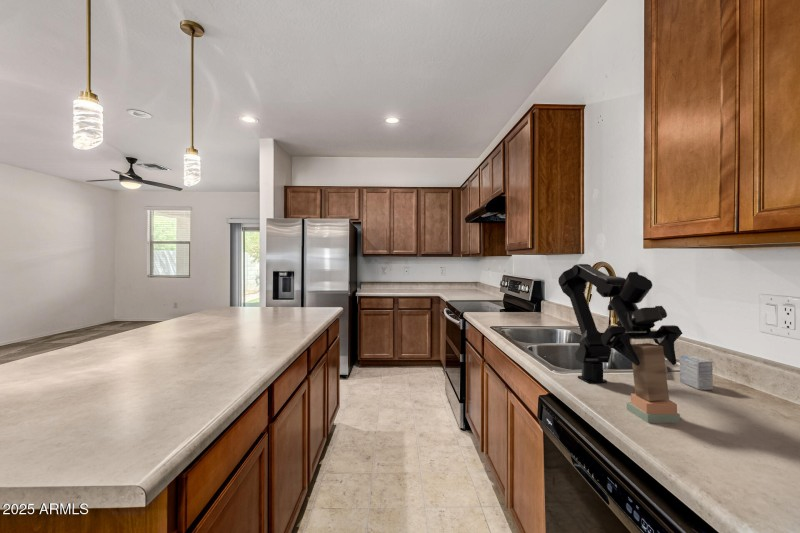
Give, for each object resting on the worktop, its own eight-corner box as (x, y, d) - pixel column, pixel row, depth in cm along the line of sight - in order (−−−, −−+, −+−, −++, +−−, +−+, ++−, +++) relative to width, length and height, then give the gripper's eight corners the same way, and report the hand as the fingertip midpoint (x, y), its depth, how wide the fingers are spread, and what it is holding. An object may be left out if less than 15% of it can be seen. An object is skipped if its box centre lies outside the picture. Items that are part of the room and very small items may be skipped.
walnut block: (635, 395, 96) (630, 344, 96) (654, 393, 96) (648, 343, 97) (649, 401, 91) (643, 347, 91) (669, 399, 91) (663, 346, 92)
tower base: (626, 411, 97) (626, 402, 97) (656, 411, 98) (656, 401, 98) (647, 425, 89) (647, 414, 89) (680, 424, 90) (680, 414, 90)
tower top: (630, 402, 97) (631, 393, 97) (659, 403, 97) (659, 393, 96) (646, 413, 90) (646, 403, 90) (676, 414, 90) (677, 404, 90)
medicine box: (713, 390, 111) (713, 361, 111) (698, 390, 111) (698, 361, 111) (693, 381, 119) (693, 355, 119) (679, 381, 119) (679, 355, 119)
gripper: (607, 295, 97) (634, 347, 86) (676, 294, 97) (713, 346, 86) (590, 320, 105) (614, 371, 94) (655, 320, 105) (686, 370, 94)
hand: (656, 364), depth 92 cm, fingers open, 9 cm apart
